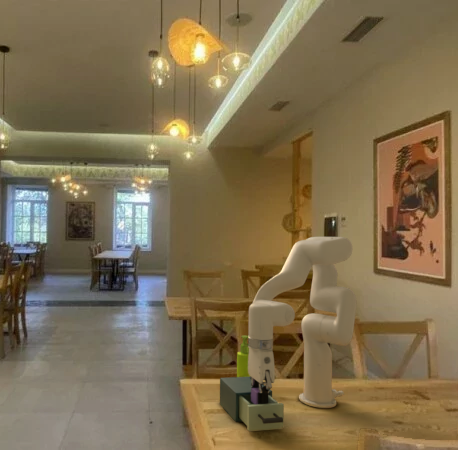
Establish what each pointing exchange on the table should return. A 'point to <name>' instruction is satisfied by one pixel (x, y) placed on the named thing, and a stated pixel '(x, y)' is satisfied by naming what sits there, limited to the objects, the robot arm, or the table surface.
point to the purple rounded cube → (254, 395)
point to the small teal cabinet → (234, 393)
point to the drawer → (261, 414)
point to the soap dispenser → (243, 359)
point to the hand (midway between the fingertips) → (259, 401)
